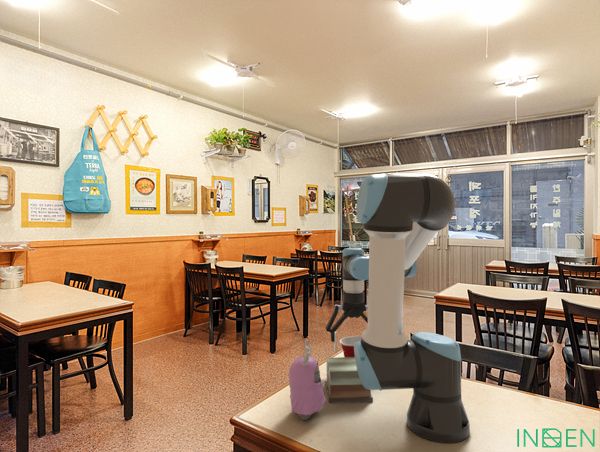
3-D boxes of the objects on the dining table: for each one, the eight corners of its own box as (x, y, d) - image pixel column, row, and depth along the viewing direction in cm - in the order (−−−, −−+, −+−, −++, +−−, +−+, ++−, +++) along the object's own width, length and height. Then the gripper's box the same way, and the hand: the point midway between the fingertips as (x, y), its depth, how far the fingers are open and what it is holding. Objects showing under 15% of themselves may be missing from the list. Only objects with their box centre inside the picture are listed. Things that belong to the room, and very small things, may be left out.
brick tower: (372, 401, 109) (372, 371, 109) (329, 402, 109) (328, 372, 109) (364, 383, 122) (363, 356, 122) (325, 384, 122) (324, 357, 122)
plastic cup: (340, 366, 138) (339, 334, 138) (369, 367, 136) (369, 335, 136) (339, 378, 127) (338, 343, 127) (371, 379, 125) (370, 344, 125)
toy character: (323, 427, 95) (322, 350, 95) (284, 424, 97) (283, 348, 97) (329, 405, 107) (328, 336, 107) (294, 402, 109) (293, 335, 109)
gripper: (385, 288, 136) (386, 346, 136) (318, 289, 135) (318, 347, 135) (391, 292, 128) (391, 353, 128) (319, 293, 128) (320, 354, 128)
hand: (354, 350), depth 132 cm, fingers open, 13 cm apart
